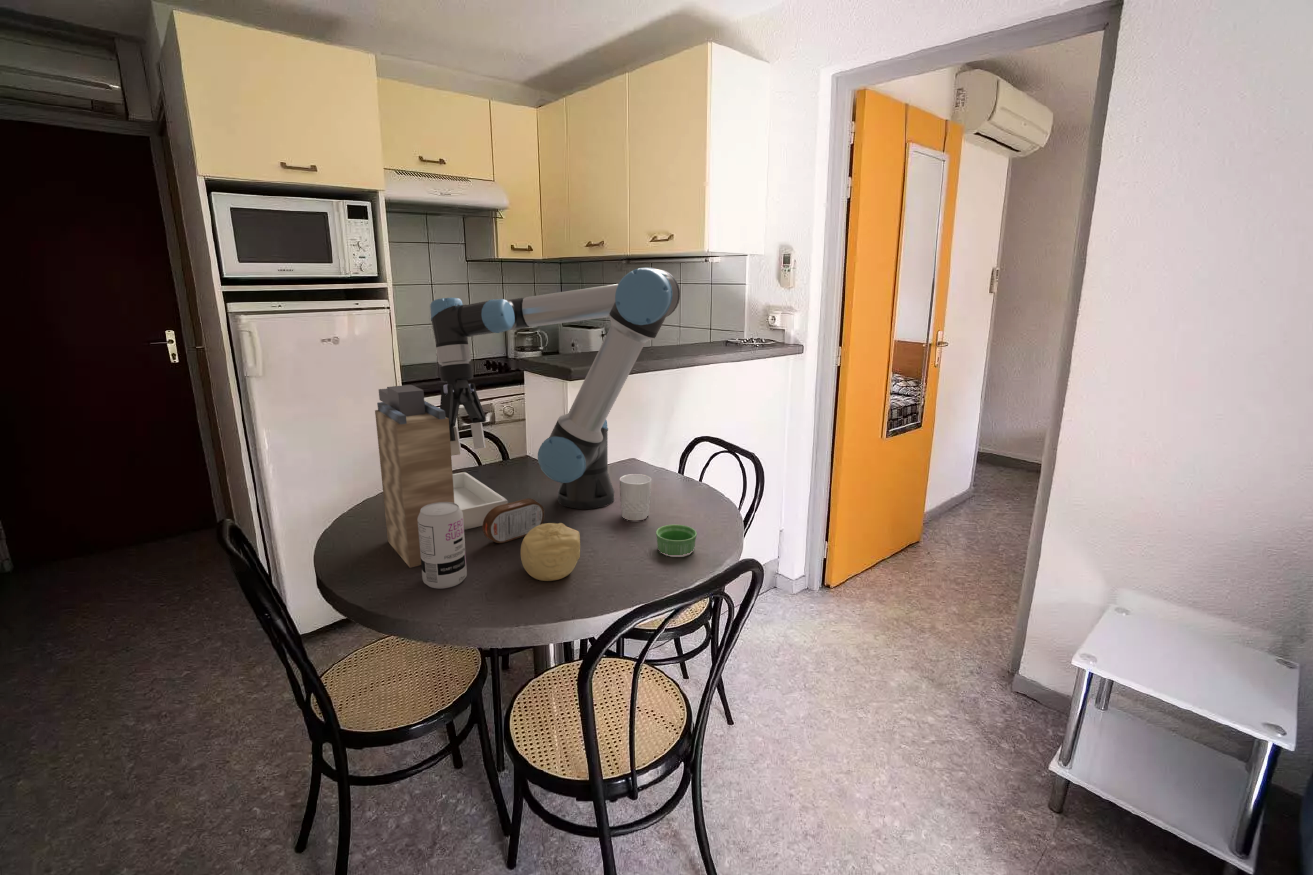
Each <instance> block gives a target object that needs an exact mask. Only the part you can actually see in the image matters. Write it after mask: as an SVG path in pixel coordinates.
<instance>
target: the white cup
mask: <svg viewBox="0 0 1313 875" xmlns="http://www.w3.org/2000/svg"><path fill="white" fill-rule="evenodd" d="M651 492H652V478H651V476H648V475H646V474H641V473H640V474H639V473H631V474H630V473H629V474H624V475H622V476H621V477H619V495H620V496H619V497H620V508H621V518H622V517H623V518H625V519H628V520H641V519H644V518H646V517H647V516H648V515H649V516H650V506H651V505H650V504H651ZM623 518H622V519H623ZM625 519H624V520H625ZM628 520H627V521H628Z"/></svg>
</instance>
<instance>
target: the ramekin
mask: <svg viewBox="0 0 1313 875" xmlns="http://www.w3.org/2000/svg"><path fill="white" fill-rule="evenodd" d="M655 535H656V536H655V537H656V540H657V541H656V542H657V550H658V549H659V550H660V552H662V553H665V554H668V555H683V554H687V553H690V552H691V551H693V549H694V550H695V548H694V547H695V546H696V538H697V535H698V532H697V531H696V529H694V528H693V527H691V526H689V525H683V524H667V525H663V526H660V527H658V528H657V529H656V531H655ZM660 552H659V553H660Z"/></svg>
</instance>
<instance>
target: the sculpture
mask: <svg viewBox="0 0 1313 875" xmlns="http://www.w3.org/2000/svg"><path fill="white" fill-rule="evenodd" d="M580 558H581V536H580V531H578V530H576V529H574V528H571V527H568V526H567V525H566V524H564V523H562V522H559V523H556V522H548V523H542V524H541V525H538V526H536V527H534V528H533V529H531V530H530V531H529V532H528V533H527V534H526V536H524V538H523V539H522V542H521V545H520V559H521V563H522V567H523V568H524V570H525V571H526V573H527V574H528V575H529V576H531V578H533V579H535V580H537V581H538V580H539V581H542V582H543V581H544V582H552V581H553V582H554V581H558V580H561V579H564V578H565V577H567V576H569V575H570V574H571V573H572V572H573V571H574V569H575V567H576V565H577V563H578V561H579V559H580Z"/></svg>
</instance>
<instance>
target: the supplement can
mask: <svg viewBox="0 0 1313 875" xmlns="http://www.w3.org/2000/svg"><path fill="white" fill-rule="evenodd" d="M417 520H418V532H419V544H420V555H421V565H420V566H421V576H422V577H421V578H422V581H423V583H424V584H425V585H426V586H428V587H430V588H432V589H449V588H453V587H455V586H458V585H459V584H461V583H462V582H463V581H464V580H465V578H466V577H467V575H468V571H467V569H468V568H467V557H466V556H467V555H466V543H465V542H466V538H465V530H464V523H463V512H462V511H461V509H460V508H459V505H458V504H456V503H452V502H438V503H432V504H428V505H426V506H424V507H422V508H421V510H420V513H419V516H418V519H417Z"/></svg>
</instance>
